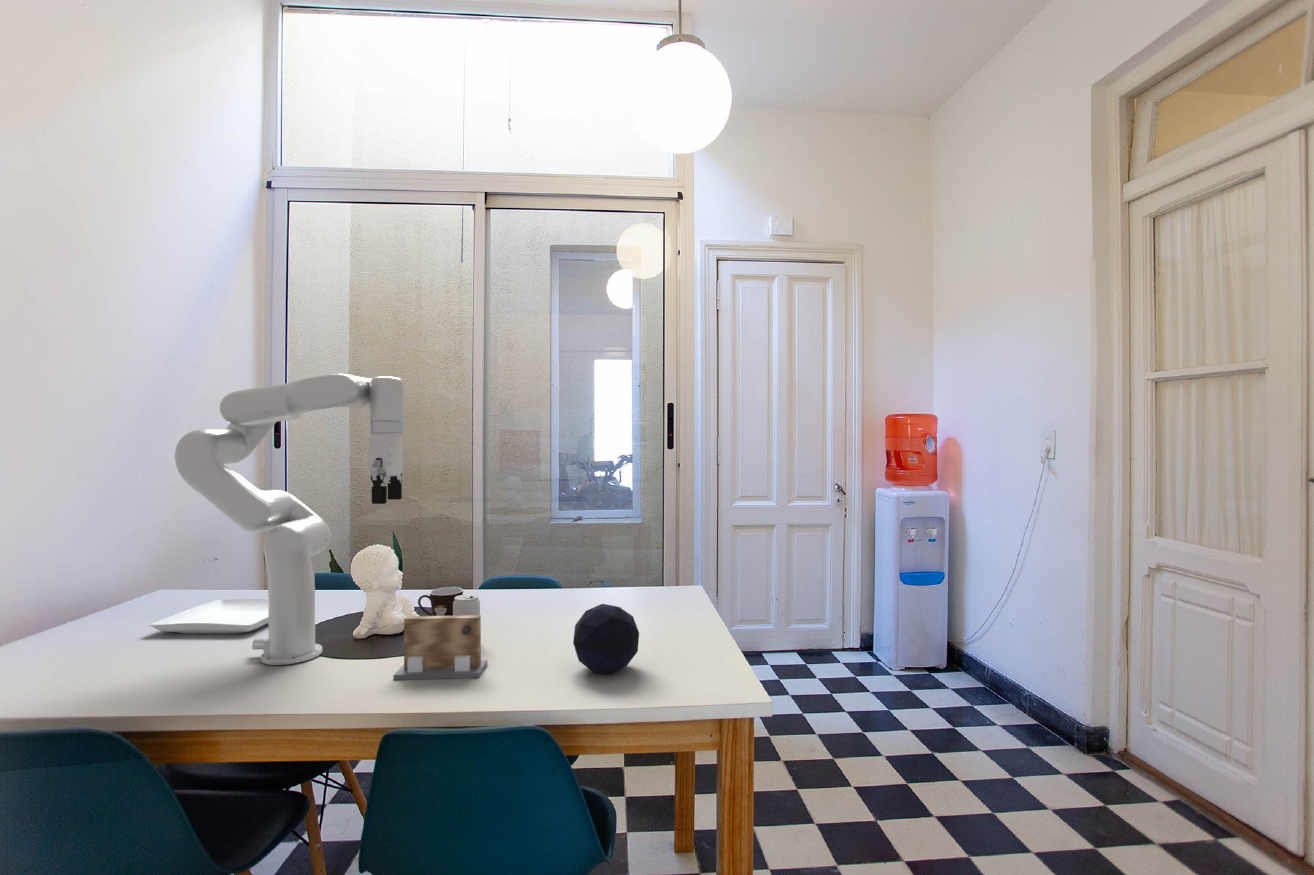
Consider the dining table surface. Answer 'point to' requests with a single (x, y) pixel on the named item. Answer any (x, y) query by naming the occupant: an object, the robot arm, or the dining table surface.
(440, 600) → the coffee mug
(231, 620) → the square plate
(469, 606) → the beverage can
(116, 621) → the dining table surface
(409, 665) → the hinge base
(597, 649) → the decorative orb
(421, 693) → the dining table surface
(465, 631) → the door panel
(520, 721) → the dining table surface
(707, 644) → the dining table surface
